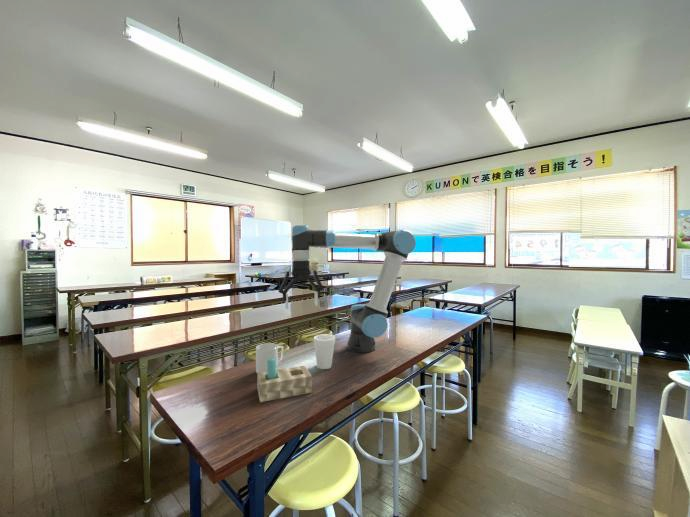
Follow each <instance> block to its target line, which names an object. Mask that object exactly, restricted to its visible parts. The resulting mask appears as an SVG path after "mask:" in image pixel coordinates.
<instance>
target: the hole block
mask: <svg viewBox="0 0 690 517" xmlns="http://www.w3.org/2000/svg"><path fill="white" fill-rule="evenodd" d="M256 374H257V375H256V377H257V379H256V380H257V381H256V382H257V383H256V384H257V385H256V386H257V394H258V398H259V402H260V403H264V402H267V401H273V400H279V399H284V398H289V397H294V396H300V395H305V394H309V393H310V394H311V393H312V392H313V388H312V387H313V386H312V385H313V382H312V381H313V376H312V374H311V373H310V370H308V368H307V366H306V365H301V366H294V367H288V368H281V369H279V368H278V370H276V379H270V380H268V371H266V372H259V373H256Z"/></svg>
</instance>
